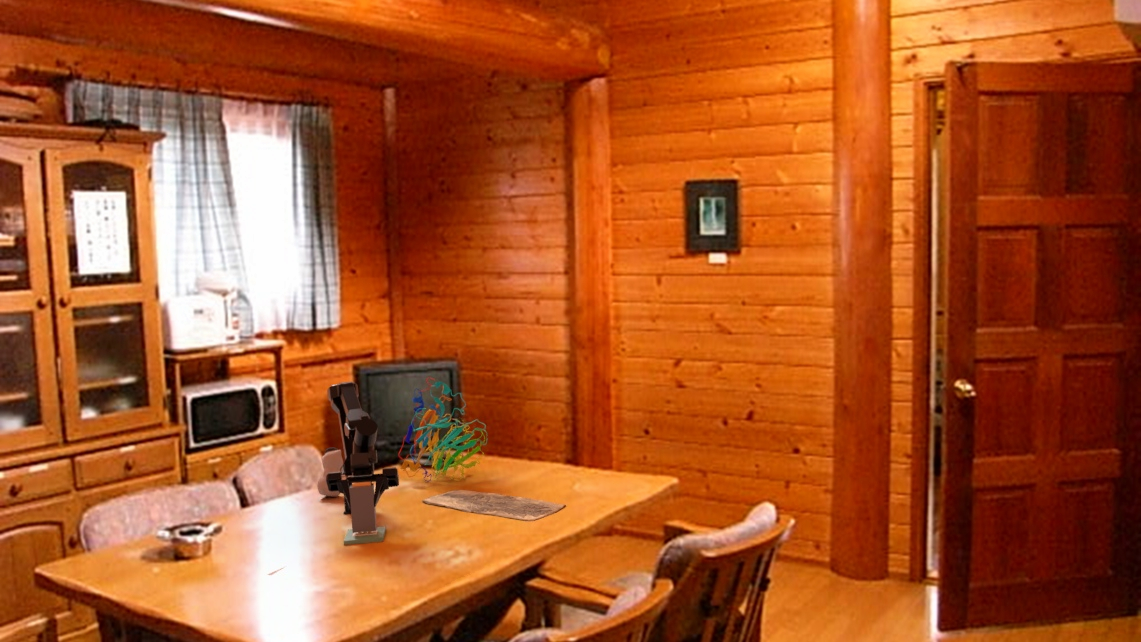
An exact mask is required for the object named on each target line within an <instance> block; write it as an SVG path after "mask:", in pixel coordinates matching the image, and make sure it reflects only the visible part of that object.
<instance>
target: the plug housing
mask: <svg viewBox="0 0 1141 642" xmlns="http://www.w3.org/2000/svg"><path fill="white" fill-rule="evenodd" d="M374 483H375V482H372V483H371V482H358V483H352V485H351V486H350V488H349V490H350V503H351V514H350V516H351V527H352V528H351V529H352V531H353V533H357V532H369V531H376V529H377V527H378V526H377V525H378V524H377V523H378V522H377V512H376V511H377V509H376V507H374V494H375V485H374Z"/></svg>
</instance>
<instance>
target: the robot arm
mask: <svg viewBox="0 0 1141 642" xmlns="http://www.w3.org/2000/svg"><path fill="white" fill-rule="evenodd" d="M326 394H327V399H328V401H330V407H331V408H332V410H333V411H334V412H335V413H336V414H337V417H338V421H339V422H338V423H339V428H340V435H341V442H342V449H343V453H344V461H343V465H342V467H341V469H340V471H341V472H329V473H328V474H327V475H326V482H327V486H328V490H329V491H331V492H333V491H339V493H340V494H343V502H344V511H343V514H345V515H347V514H350V515H351V503H350V490H349V488H350V486H351V485H352V483H358V482H371V483H375V486H374V507H375V508H376V507H377V505H378V503H379V501H380V498H381V497H382V495H383V494H384V492H385V491H387V490H389V488H393V487H398V486H400V477H399V476H400V475H399V471H398V468H397V467H396V466H395V467H384V468H382V471H381V473H375V464H377V463H378V451H377V449H375V445H376V444H375V443H376V440H377V434H378V429H379V427H378V423H377V422H376V421H375V420H374V419H371V417H370V415H369V413H367V412H366V411H364V410H363V409H362V406H361V404H360V401H359V387H358V383H356V382H354V381H344V382H339V383H337V384H330V386H329V387H328V388H327V391H326Z"/></svg>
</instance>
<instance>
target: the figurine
mask: <svg viewBox="0 0 1141 642" xmlns="http://www.w3.org/2000/svg"><path fill="white" fill-rule="evenodd" d="M321 462H322V463H321V464H322V468H323V471H322V474H321V476H320V478H319V479H318V481H317V483H316V485H317V492H318V493H319V495H321V496H325V497H333V498H334V497H339V496H340V495H341V493H339V491H333V492H331V491H329V490H328V486H327V482H326V475H327V474H328V473H329V472H341V469H342V467H343V464H344V458H343V457H342V449H338V448H336V447H328V448H326V449H325V450H324V455H323V456H321Z"/></svg>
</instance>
